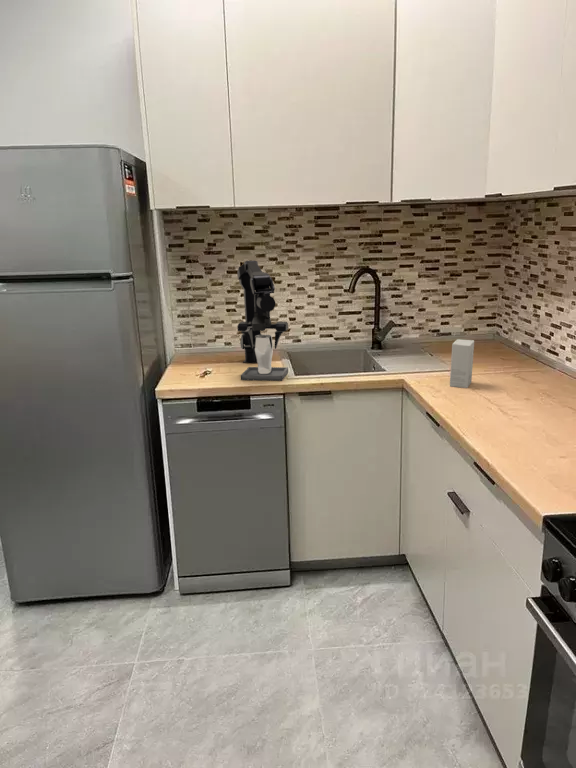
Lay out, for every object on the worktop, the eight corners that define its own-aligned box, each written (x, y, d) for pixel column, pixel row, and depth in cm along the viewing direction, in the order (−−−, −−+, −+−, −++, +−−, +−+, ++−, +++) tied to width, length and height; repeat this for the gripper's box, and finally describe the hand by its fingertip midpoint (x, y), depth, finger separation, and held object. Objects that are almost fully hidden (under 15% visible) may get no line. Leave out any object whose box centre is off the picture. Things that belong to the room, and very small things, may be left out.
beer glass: (271, 376, 225) (270, 338, 221) (253, 376, 226) (252, 337, 222) (275, 372, 231) (274, 334, 227) (258, 371, 233) (256, 334, 229)
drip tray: (249, 371, 237) (248, 366, 236) (288, 372, 234) (288, 367, 233) (240, 380, 224) (240, 375, 224) (282, 381, 221) (281, 375, 221)
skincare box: (454, 380, 215) (456, 338, 210) (473, 382, 212) (475, 340, 207) (449, 386, 207) (451, 343, 203) (468, 388, 204) (470, 344, 200)
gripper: (232, 311, 216) (234, 353, 220) (282, 311, 212) (283, 353, 217) (240, 306, 226) (242, 346, 231) (287, 306, 223) (289, 347, 227)
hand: (263, 348), depth 226 cm, fingers open, 9 cm apart
